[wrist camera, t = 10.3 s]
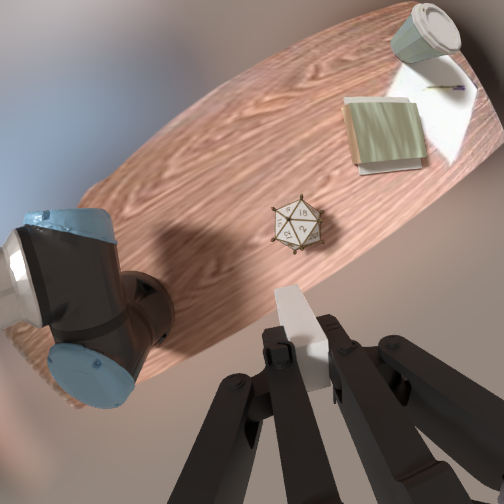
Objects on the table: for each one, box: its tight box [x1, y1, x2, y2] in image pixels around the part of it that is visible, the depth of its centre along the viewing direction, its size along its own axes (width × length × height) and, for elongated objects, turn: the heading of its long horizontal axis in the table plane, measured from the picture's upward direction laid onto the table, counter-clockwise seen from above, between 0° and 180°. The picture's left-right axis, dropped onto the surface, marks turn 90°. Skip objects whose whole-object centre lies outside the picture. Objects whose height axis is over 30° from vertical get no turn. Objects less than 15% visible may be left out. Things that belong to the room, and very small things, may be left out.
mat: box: [343, 97, 422, 175], centre depth 42 cm, size 14×14×1 cm
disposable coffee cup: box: [391, 3, 461, 63], centre depth 31 cm, size 11×11×15 cm
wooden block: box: [341, 102, 427, 164], centre depth 40 cm, size 4×10×14 cm
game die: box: [271, 194, 325, 255], centre depth 42 cm, size 9×8×10 cm
